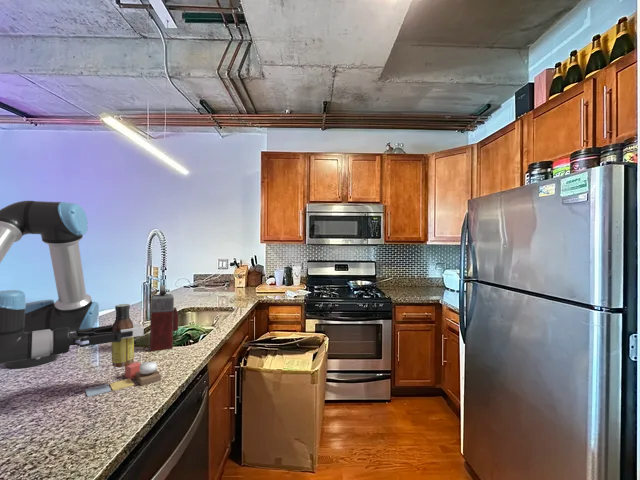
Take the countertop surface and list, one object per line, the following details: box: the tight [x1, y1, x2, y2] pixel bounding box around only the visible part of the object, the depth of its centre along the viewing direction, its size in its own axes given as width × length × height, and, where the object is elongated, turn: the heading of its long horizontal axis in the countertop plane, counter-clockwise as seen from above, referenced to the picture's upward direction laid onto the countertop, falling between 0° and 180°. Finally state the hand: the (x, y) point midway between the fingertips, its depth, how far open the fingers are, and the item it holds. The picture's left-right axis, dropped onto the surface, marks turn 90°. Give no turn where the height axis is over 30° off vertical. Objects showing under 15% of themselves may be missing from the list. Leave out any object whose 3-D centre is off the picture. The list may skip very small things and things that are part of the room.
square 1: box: [84, 383, 112, 398], centre depth 98 cm, size 6×6×1 cm
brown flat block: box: [134, 370, 162, 387], centre depth 107 cm, size 8×6×2 cm
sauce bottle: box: [111, 303, 135, 368], centre depth 103 cm, size 6×6×20 cm
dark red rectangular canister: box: [149, 284, 179, 353], centre depth 141 cm, size 9×11×28 cm
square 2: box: [109, 378, 135, 391], centre depth 103 cm, size 6×6×1 cm
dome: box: [140, 361, 158, 374], centre depth 107 cm, size 5×5×2 cm
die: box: [124, 361, 142, 380], centre depth 110 cm, size 4×4×4 cm
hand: (140, 328), depth 106 cm, fingers closed on sauce bottle, 6 cm apart
